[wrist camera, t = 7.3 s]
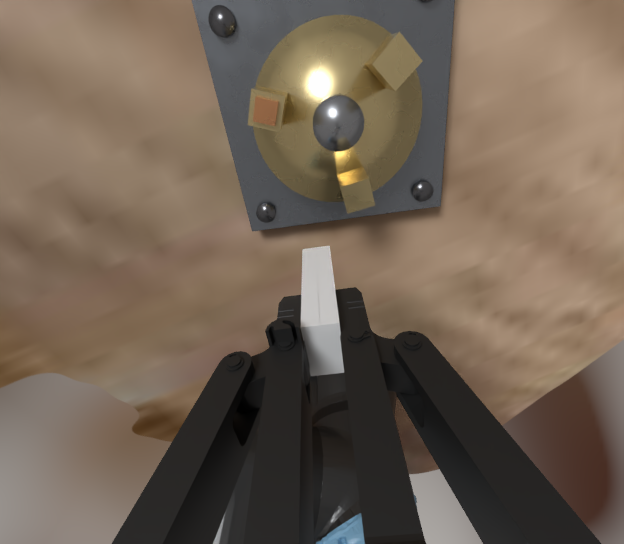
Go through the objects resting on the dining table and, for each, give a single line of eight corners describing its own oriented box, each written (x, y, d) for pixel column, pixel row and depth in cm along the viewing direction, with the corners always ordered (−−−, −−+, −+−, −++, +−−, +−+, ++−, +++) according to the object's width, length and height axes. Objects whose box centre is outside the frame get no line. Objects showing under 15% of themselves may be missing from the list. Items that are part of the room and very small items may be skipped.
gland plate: (434, 199, 36) (442, 208, 34) (254, 223, 37) (251, 233, 35) (448, -49, 25) (461, -59, 23) (197, -2, 27) (187, -8, 25)
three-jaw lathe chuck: (440, 43, 27) (473, 38, 21) (384, 205, 34) (398, 232, 29) (267, -3, 25) (256, -22, 20) (248, 177, 32) (235, 200, 27)
